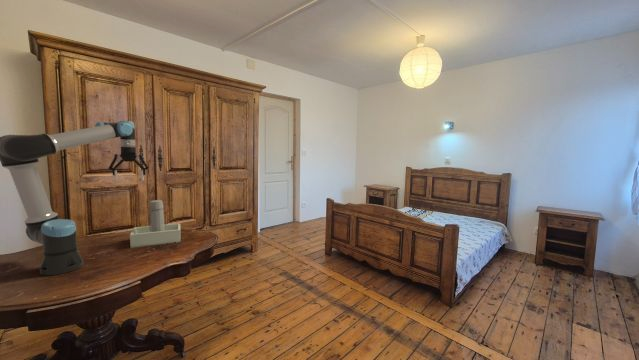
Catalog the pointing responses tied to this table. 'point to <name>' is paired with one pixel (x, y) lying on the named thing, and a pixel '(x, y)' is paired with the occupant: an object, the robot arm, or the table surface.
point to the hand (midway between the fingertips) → (129, 180)
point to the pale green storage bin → (155, 236)
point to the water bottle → (156, 216)
